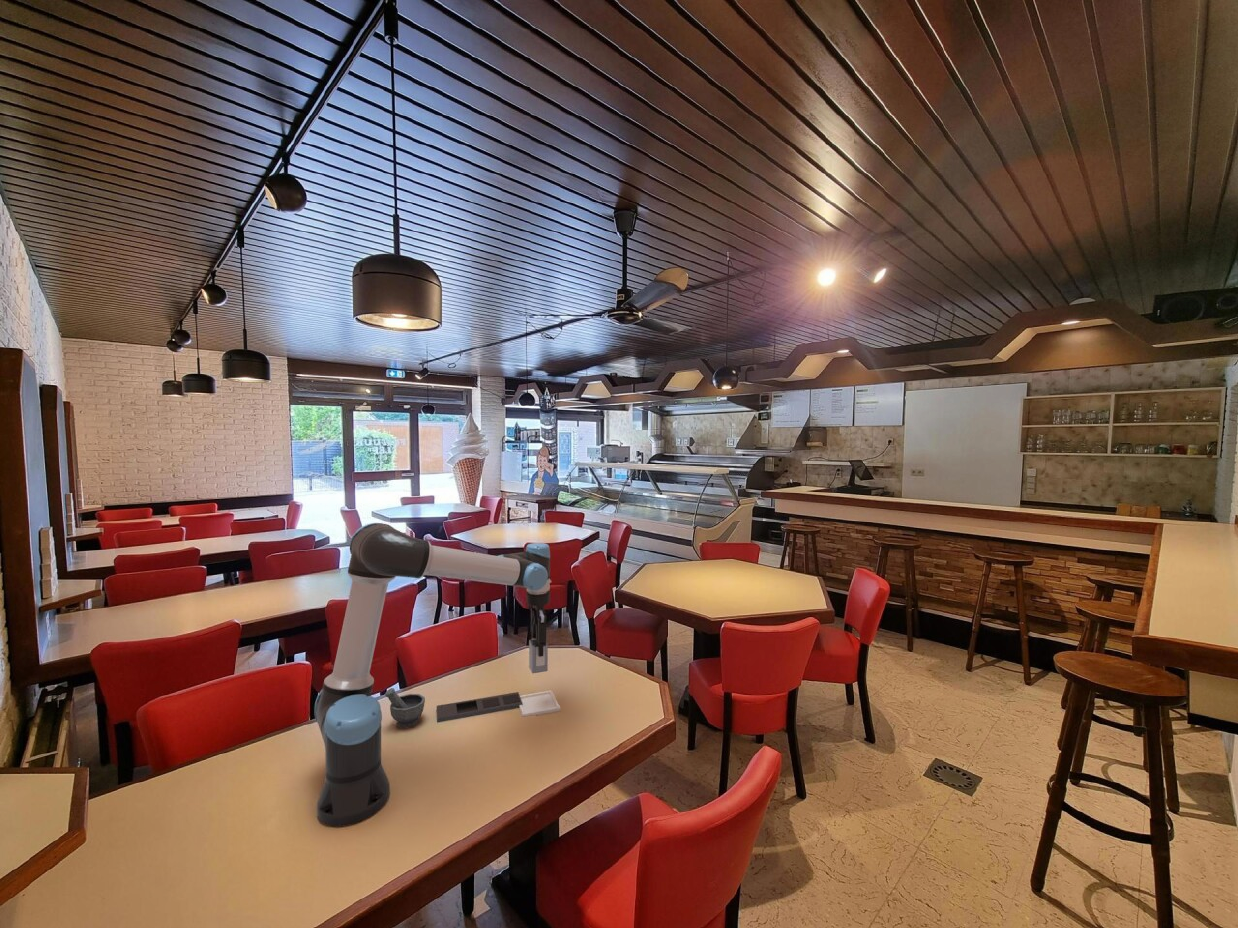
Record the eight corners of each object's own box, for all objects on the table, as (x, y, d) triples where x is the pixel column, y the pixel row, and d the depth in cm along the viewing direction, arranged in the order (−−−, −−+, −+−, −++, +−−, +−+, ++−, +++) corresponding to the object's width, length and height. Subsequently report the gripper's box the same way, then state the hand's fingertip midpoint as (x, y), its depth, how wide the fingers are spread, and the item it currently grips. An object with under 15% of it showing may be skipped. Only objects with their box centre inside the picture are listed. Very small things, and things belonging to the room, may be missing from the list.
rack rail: (522, 708, 161) (522, 703, 161) (437, 723, 151) (437, 718, 151) (518, 696, 168) (518, 691, 168) (436, 710, 159) (436, 705, 159)
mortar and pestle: (421, 712, 158) (421, 674, 158) (428, 726, 150) (428, 687, 150) (382, 722, 152) (382, 683, 151) (387, 737, 144) (387, 696, 144)
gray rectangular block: (547, 670, 161) (547, 643, 161) (532, 673, 159) (532, 645, 159) (544, 664, 166) (544, 638, 165) (529, 666, 164) (529, 640, 164)
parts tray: (560, 711, 159) (560, 707, 159) (522, 718, 155) (522, 714, 155) (551, 693, 170) (551, 690, 170) (516, 699, 166) (516, 696, 166)
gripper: (556, 597, 154) (556, 671, 155) (543, 582, 171) (543, 649, 172) (532, 600, 152) (532, 675, 153) (521, 584, 169) (521, 652, 169)
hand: (538, 661), depth 162 cm, fingers closed on gray rectangular block, 5 cm apart
